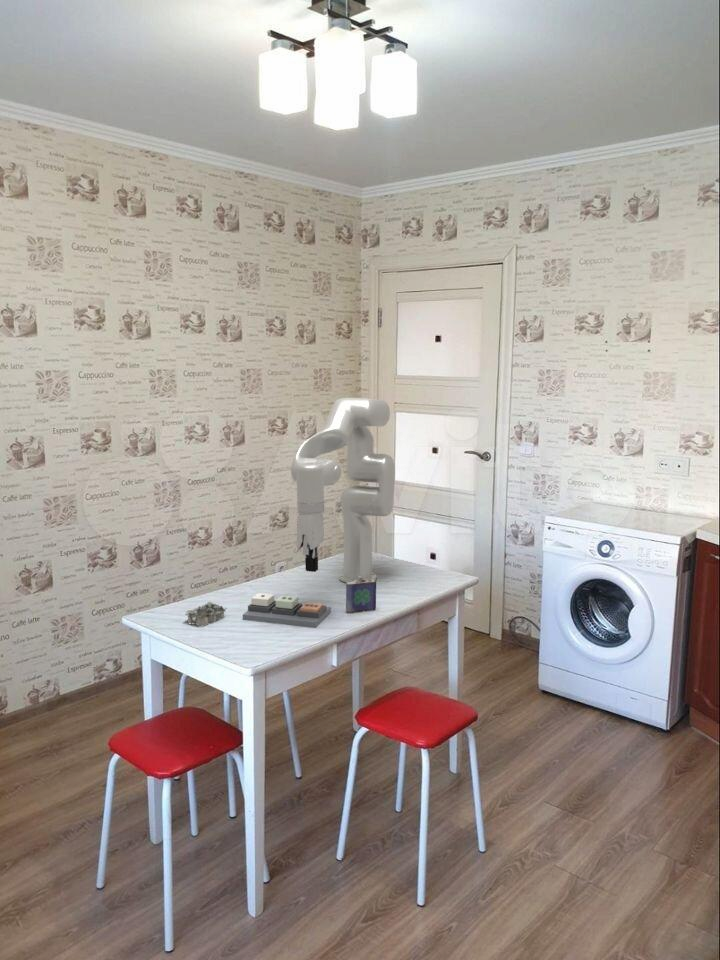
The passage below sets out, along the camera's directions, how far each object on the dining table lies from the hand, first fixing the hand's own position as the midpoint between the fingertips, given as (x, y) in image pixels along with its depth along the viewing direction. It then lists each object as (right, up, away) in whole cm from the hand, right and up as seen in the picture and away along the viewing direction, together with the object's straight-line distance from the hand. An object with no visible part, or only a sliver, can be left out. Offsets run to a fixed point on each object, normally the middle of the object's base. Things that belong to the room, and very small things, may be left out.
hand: (311, 570), depth 214 cm
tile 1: (-15, -10, +6) cm, 19 cm away
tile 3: (0, -12, +2) cm, 12 cm away
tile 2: (-7, -10, +4) cm, 13 cm away
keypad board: (-7, -14, +4) cm, 16 cm away
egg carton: (-30, -15, +1) cm, 34 cm away
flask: (+14, -13, +9) cm, 21 cm away
